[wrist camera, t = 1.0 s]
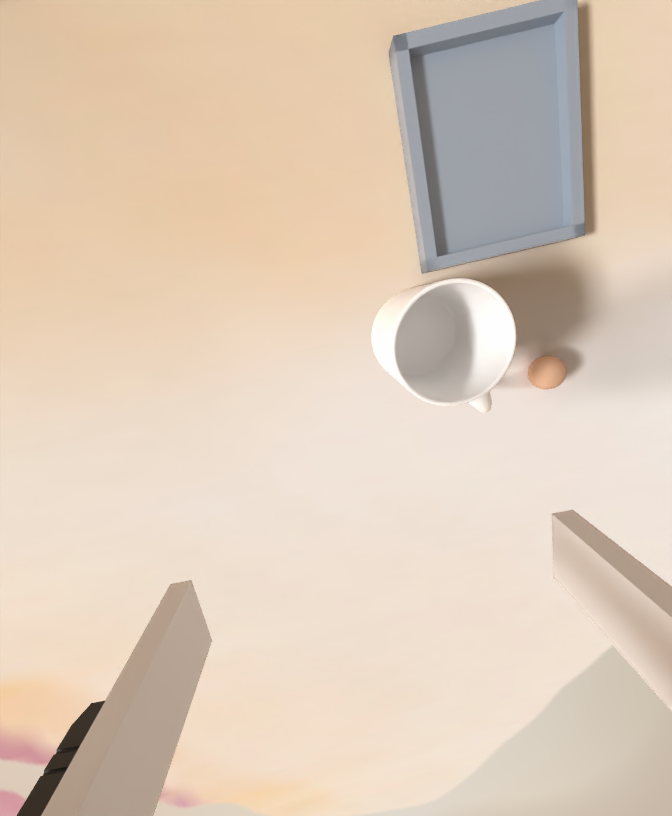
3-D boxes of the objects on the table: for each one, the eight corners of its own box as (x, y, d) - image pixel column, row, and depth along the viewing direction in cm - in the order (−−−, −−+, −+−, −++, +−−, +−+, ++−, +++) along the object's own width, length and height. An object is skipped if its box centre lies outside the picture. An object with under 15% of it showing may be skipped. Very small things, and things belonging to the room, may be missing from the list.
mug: (422, 421, 37) (462, 464, 27) (351, 327, 34) (365, 334, 24) (492, 369, 36) (563, 393, 26) (425, 268, 33) (474, 248, 23)
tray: (388, 52, 29) (393, 35, 27) (561, 11, 29) (576, -9, 27) (421, 273, 33) (427, 271, 31) (571, 239, 33) (585, 234, 31)
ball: (520, 358, 36) (539, 362, 33) (551, 350, 36) (573, 354, 33) (522, 388, 36) (541, 395, 33) (553, 381, 36) (575, 388, 33)
